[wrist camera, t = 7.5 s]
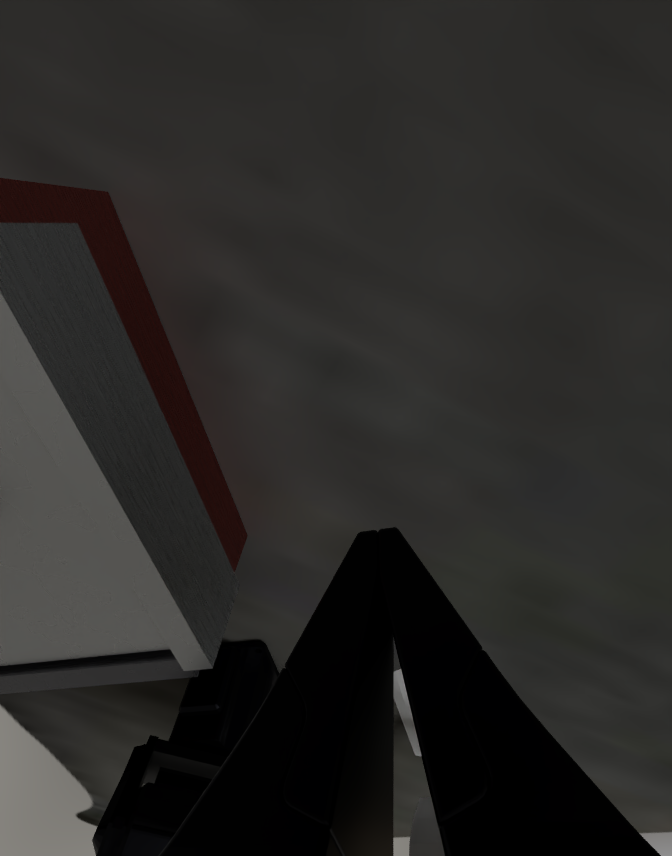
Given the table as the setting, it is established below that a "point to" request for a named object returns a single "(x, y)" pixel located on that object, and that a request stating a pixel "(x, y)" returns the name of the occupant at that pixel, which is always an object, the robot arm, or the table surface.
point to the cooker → (166, 380)
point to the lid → (92, 477)
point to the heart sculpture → (425, 830)
